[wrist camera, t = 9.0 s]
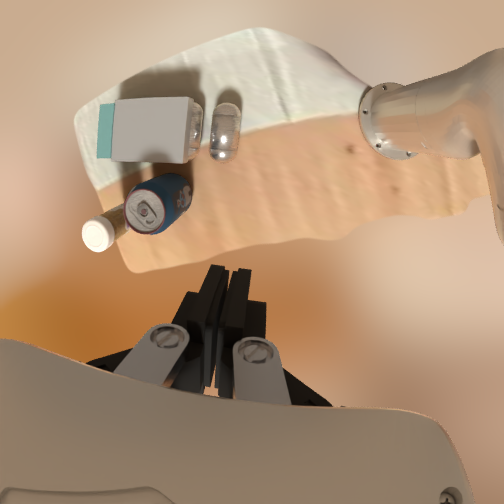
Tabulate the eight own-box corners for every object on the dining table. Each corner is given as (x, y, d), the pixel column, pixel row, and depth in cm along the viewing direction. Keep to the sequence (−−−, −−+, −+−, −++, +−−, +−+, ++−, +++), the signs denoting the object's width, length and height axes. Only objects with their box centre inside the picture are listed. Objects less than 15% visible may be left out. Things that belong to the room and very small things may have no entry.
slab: (193, 99, 34) (188, 96, 32) (187, 162, 37) (182, 163, 35) (123, 101, 34) (115, 100, 32) (119, 159, 38) (111, 161, 35)
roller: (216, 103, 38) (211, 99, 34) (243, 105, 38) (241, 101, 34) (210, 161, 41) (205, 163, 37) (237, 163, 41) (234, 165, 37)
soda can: (145, 190, 44) (109, 208, 32) (176, 163, 42) (144, 172, 31) (171, 222, 45) (142, 249, 34) (203, 197, 44) (180, 217, 32)
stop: (135, 107, 38) (114, 103, 32) (131, 154, 41) (110, 158, 35) (122, 107, 38) (100, 104, 32) (119, 154, 41) (96, 158, 35)
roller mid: (181, 102, 38) (173, 99, 34) (206, 103, 38) (200, 99, 34) (176, 159, 41) (167, 161, 38) (201, 160, 41) (194, 162, 37)
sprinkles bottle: (151, 220, 45) (112, 249, 33) (129, 226, 46) (87, 256, 34) (143, 194, 44) (101, 215, 31) (121, 201, 44) (76, 224, 32)
